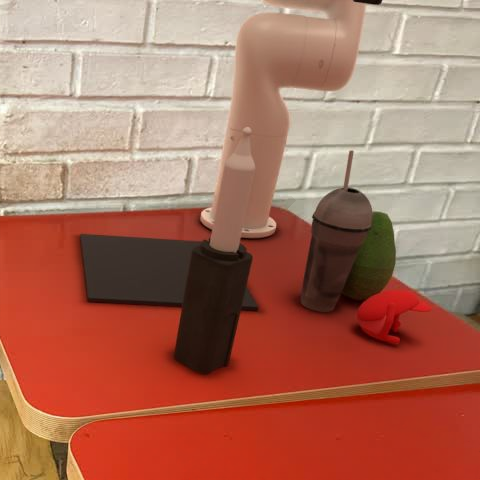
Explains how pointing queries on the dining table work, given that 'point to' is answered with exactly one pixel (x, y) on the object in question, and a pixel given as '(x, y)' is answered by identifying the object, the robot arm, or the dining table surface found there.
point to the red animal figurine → (387, 313)
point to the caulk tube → (218, 273)
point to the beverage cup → (334, 244)
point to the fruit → (373, 260)
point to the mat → (139, 270)
